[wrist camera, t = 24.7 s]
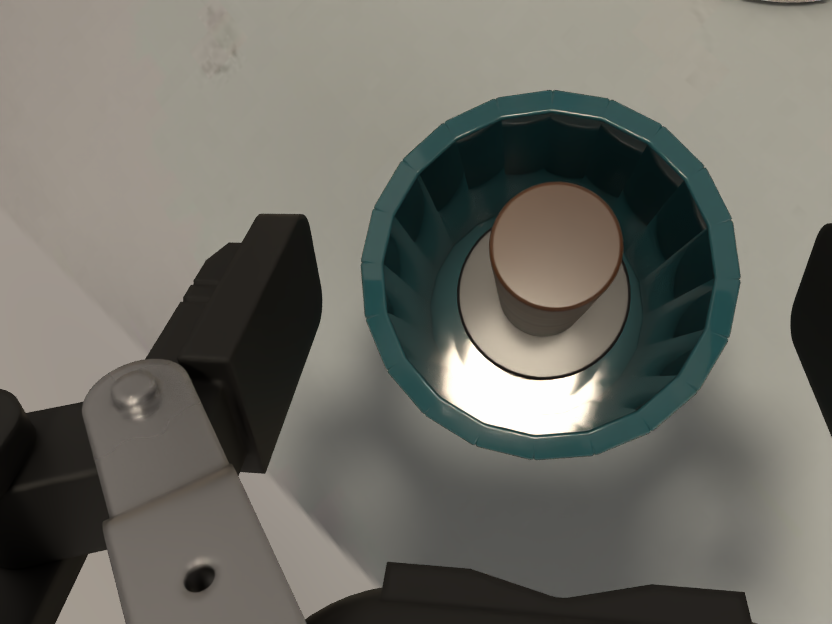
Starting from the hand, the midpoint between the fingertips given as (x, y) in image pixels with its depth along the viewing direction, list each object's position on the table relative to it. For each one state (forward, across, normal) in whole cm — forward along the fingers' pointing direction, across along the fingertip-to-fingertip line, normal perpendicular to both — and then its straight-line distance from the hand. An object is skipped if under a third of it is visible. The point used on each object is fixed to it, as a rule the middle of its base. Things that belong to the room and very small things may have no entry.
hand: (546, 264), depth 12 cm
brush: (+8, 0, +8) cm, 11 cm away
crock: (+9, 0, +8) cm, 12 cm away
